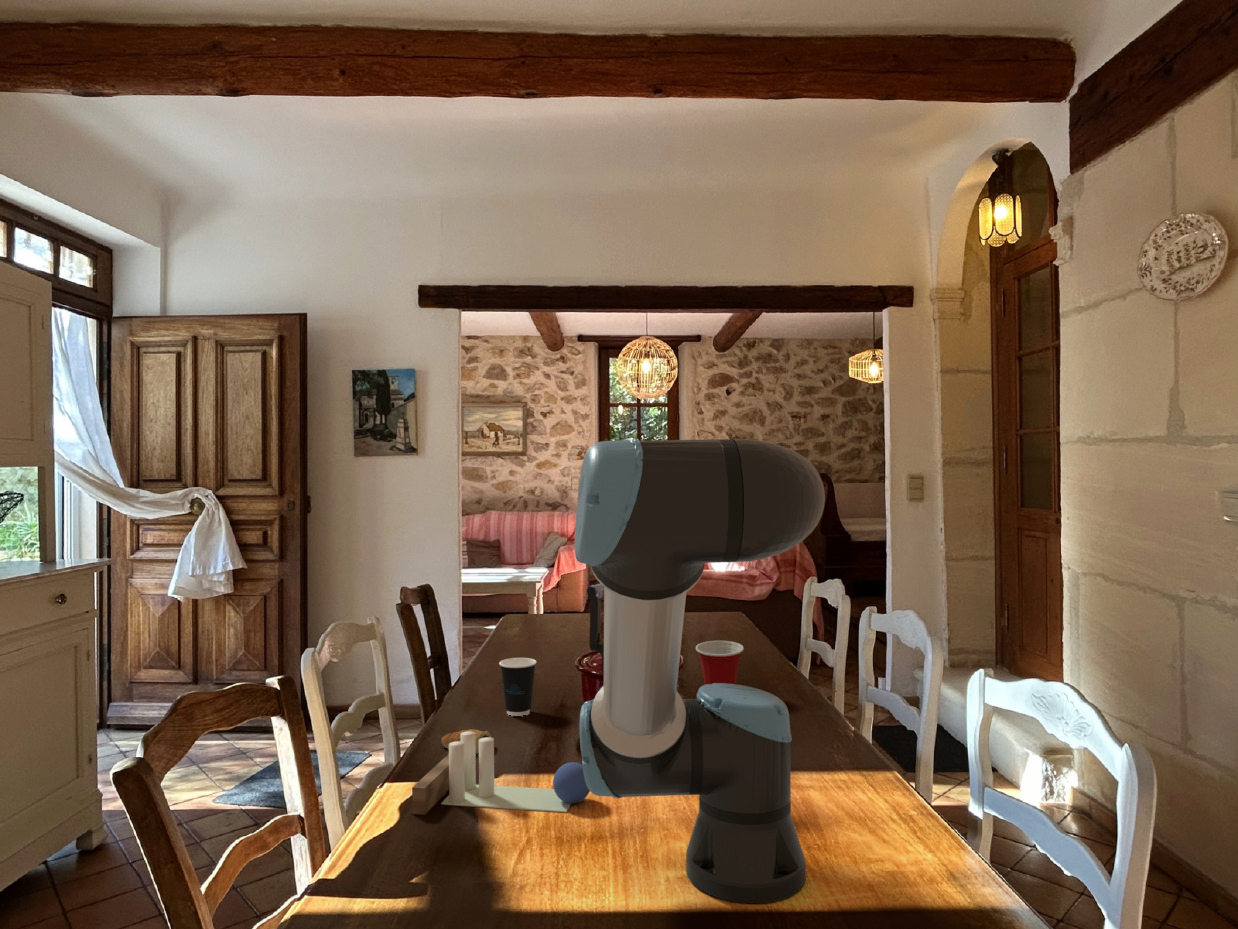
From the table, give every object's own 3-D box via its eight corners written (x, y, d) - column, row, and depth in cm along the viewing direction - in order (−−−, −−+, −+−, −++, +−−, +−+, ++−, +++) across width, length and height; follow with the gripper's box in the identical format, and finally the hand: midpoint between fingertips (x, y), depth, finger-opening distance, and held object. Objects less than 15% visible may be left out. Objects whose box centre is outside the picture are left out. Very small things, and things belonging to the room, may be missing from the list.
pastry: (433, 752, 151) (433, 731, 151) (454, 741, 157) (454, 721, 157) (476, 758, 147) (476, 737, 147) (496, 747, 153) (495, 726, 154)
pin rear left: (472, 792, 131) (472, 736, 131) (458, 791, 131) (458, 735, 131) (477, 786, 133) (477, 731, 133) (463, 785, 134) (463, 731, 134)
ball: (587, 811, 123) (586, 771, 123) (548, 808, 124) (548, 769, 124) (595, 795, 129) (594, 757, 129) (558, 793, 130) (558, 755, 130)
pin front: (491, 800, 128) (491, 742, 128) (477, 799, 128) (476, 742, 128) (496, 794, 130) (495, 737, 130) (482, 793, 131) (481, 737, 131)
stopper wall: (424, 815, 122) (424, 788, 123) (412, 814, 123) (412, 787, 123) (462, 775, 138) (462, 751, 138) (451, 774, 139) (451, 751, 139)
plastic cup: (690, 703, 180) (690, 649, 180) (701, 690, 190) (701, 639, 190) (739, 707, 176) (738, 652, 176) (748, 694, 186) (747, 642, 186)
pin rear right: (461, 805, 126) (461, 747, 126) (446, 804, 126) (446, 746, 126) (467, 798, 128) (466, 741, 128) (452, 798, 129) (452, 741, 129)
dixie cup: (507, 721, 168) (506, 668, 168) (494, 711, 175) (494, 660, 175) (542, 715, 172) (542, 663, 172) (528, 706, 179) (528, 656, 179)
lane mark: (566, 812, 123) (566, 811, 123) (441, 804, 126) (441, 803, 126) (578, 791, 131) (578, 790, 131) (460, 784, 134) (460, 783, 134)
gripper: (691, 544, 128) (692, 692, 127) (577, 543, 131) (578, 688, 131) (687, 549, 120) (688, 706, 120) (566, 548, 123) (568, 701, 123)
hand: (631, 696), depth 125 cm, fingers open, 5 cm apart
